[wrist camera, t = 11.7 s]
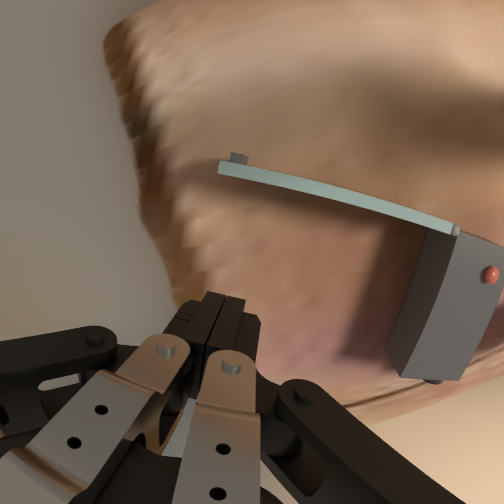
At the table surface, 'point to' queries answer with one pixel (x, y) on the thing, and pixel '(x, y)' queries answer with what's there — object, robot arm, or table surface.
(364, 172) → the table surface
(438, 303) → the camera housing
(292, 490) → the robot arm
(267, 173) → the side door
